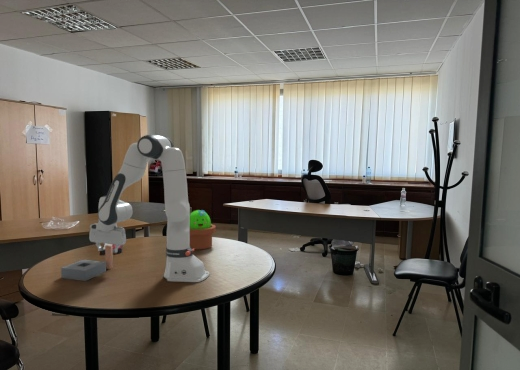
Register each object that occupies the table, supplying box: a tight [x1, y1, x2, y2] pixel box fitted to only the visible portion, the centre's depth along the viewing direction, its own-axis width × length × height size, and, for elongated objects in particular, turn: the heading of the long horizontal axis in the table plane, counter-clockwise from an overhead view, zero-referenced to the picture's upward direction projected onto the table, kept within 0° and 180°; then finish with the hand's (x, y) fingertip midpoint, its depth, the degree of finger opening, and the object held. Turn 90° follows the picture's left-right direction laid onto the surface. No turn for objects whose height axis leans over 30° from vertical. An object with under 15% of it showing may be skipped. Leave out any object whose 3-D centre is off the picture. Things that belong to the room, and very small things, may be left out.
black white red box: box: [101, 243, 124, 255], centre depth 214 cm, size 11×4×15 cm
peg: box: [104, 245, 114, 270], centre depth 180 cm, size 4×4×12 cm
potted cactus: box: [189, 209, 216, 250], centre depth 226 cm, size 22×22×25 cm
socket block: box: [60, 259, 107, 282], centre depth 170 cm, size 14×14×5 cm
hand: (107, 251), depth 179 cm, fingers open, 8 cm apart
